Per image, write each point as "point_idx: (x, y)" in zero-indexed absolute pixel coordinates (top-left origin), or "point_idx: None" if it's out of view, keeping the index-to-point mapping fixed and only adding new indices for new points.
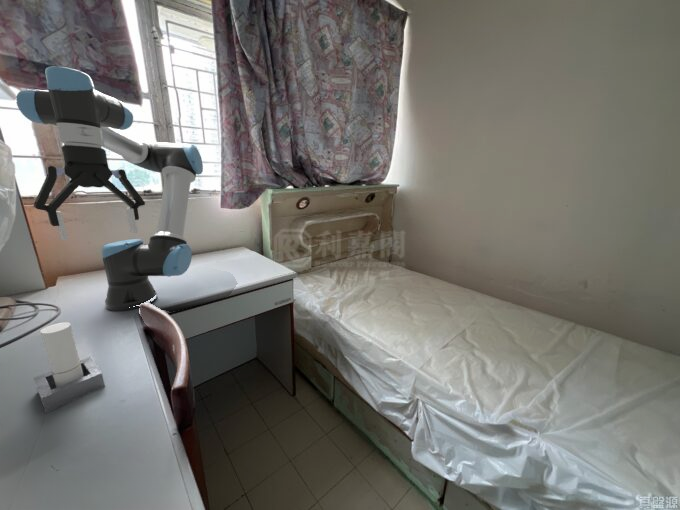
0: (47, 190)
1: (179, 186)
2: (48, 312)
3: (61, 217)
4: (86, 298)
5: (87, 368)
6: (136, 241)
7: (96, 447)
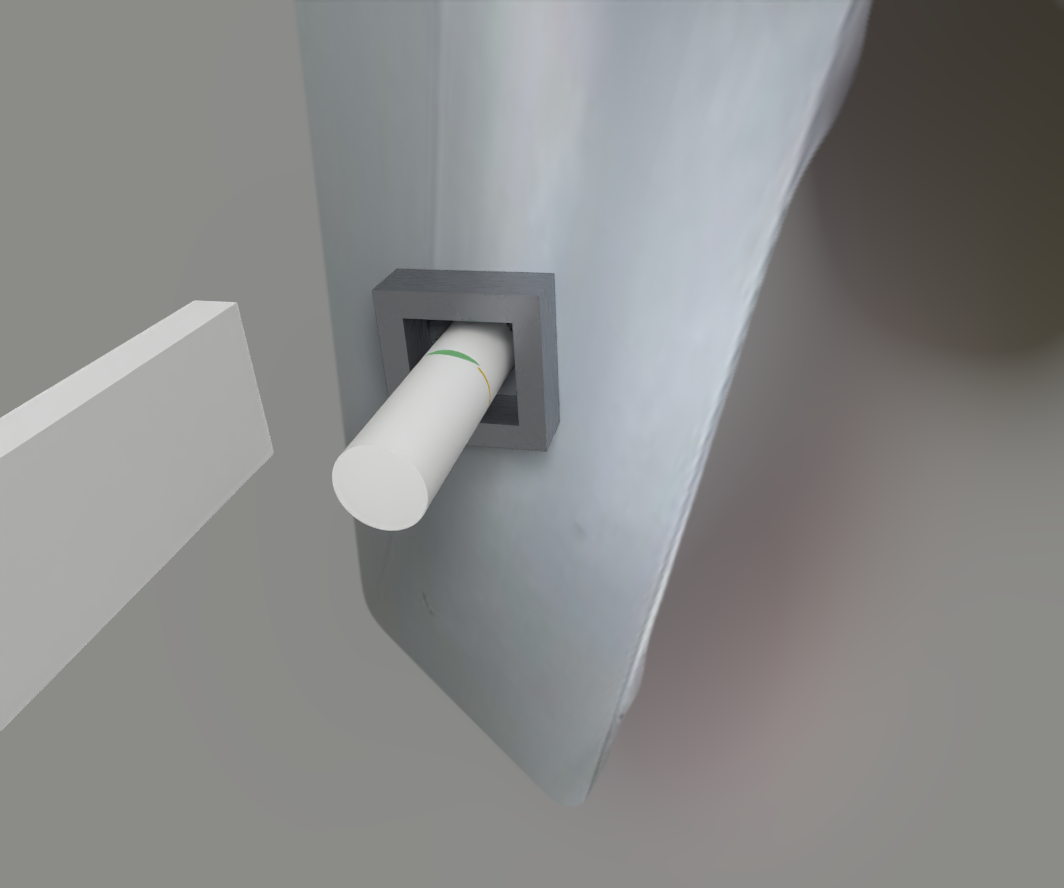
0: None
1: None
2: None
3: (33, 685)
4: None
5: (516, 380)
6: None
7: (494, 621)
